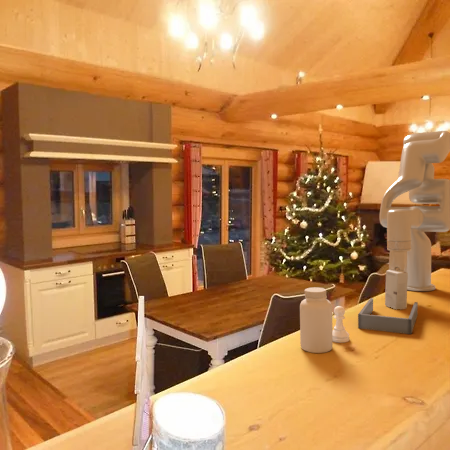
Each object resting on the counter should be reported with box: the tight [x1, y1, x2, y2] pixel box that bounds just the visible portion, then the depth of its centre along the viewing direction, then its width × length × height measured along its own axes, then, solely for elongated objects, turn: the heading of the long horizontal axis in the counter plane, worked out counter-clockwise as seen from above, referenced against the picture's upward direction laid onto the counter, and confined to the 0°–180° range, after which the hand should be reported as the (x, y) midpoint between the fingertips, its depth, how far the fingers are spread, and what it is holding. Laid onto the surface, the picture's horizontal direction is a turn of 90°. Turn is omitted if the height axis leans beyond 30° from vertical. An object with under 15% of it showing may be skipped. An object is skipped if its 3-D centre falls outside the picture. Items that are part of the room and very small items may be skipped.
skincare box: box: [384, 269, 408, 311], centre depth 149 cm, size 6×4×12 cm
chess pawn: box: [332, 305, 350, 344], centre depth 119 cm, size 5×5×9 cm
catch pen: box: [357, 297, 419, 335], centre depth 134 cm, size 20×14×4 cm
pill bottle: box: [299, 286, 334, 354], centre depth 113 cm, size 8×8×15 cm
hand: (398, 298), depth 155 cm, fingers closed
